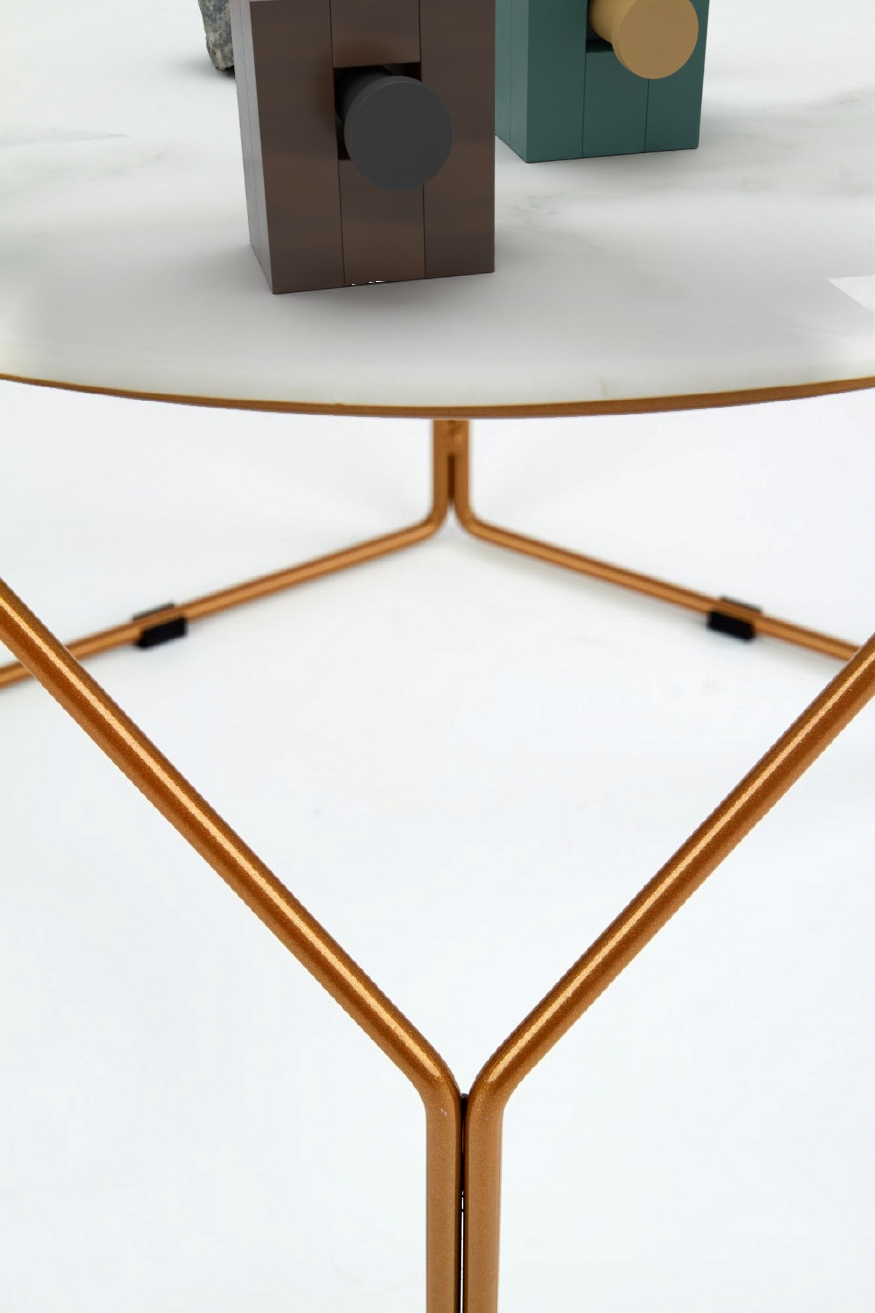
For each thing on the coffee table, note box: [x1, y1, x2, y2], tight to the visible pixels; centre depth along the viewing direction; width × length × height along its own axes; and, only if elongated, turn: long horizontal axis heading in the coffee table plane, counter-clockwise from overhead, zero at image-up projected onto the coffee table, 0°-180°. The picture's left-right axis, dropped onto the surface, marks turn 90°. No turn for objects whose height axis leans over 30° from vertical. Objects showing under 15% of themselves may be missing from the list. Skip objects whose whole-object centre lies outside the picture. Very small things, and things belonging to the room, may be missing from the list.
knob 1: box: [335, 65, 453, 191], centre depth 67 cm, size 7×5×5 cm, turn 14°
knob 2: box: [588, 0, 698, 79], centre depth 84 cm, size 7×5×5 cm, turn 14°
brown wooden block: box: [229, 0, 496, 294], centre depth 72 cm, size 8×11×13 cm
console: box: [495, 0, 711, 163], centre depth 90 cm, size 8×11×13 cm
